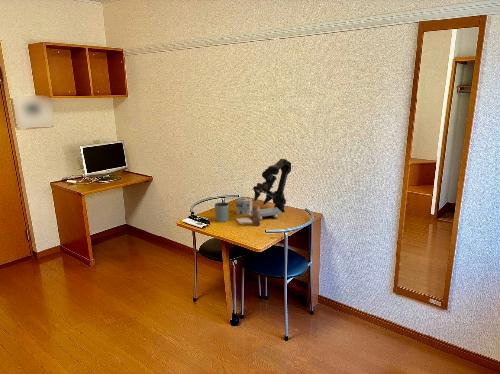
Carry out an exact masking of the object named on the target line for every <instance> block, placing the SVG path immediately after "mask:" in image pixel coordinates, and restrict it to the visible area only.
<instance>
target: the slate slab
mask: <svg viewBox="0 0 500 374" xmlns="http://www.w3.org/2000/svg"><path fill="white" fill-rule="evenodd" d="M282 213H283V212H282V211H280V210H279V209H278V208H277V207H276V208H274V207H268V208H260V222H262V221H263V217H268V216H272V217H273V218H274V219H275V220H278V219H279V215H282ZM250 215H252V210H251V214H250Z"/></svg>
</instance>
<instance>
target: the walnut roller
mask: <svg viewBox="0 0 500 374" xmlns="http://www.w3.org/2000/svg"><path fill="white" fill-rule="evenodd" d="M260 209H261V208H260V206H259V205H252V214H251V215H252V226H253V227H260V226H261V221H260Z"/></svg>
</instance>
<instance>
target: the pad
mask: <svg viewBox="0 0 500 374" xmlns="http://www.w3.org/2000/svg"><path fill="white" fill-rule="evenodd" d="M235 219H236V221H237V223H238V224H239V225H244V224H251V223H252V224H253V220H252V219H251V218H250V217H247V216H246V217H241V218H235Z"/></svg>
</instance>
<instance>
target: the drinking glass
mask: <svg viewBox="0 0 500 374" xmlns="http://www.w3.org/2000/svg"><path fill="white" fill-rule="evenodd" d="M229 209H230V203H228V202H222V201H218V202H215V203H214V213H215V221H216V222H218V223H227V222H228V221H229Z"/></svg>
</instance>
